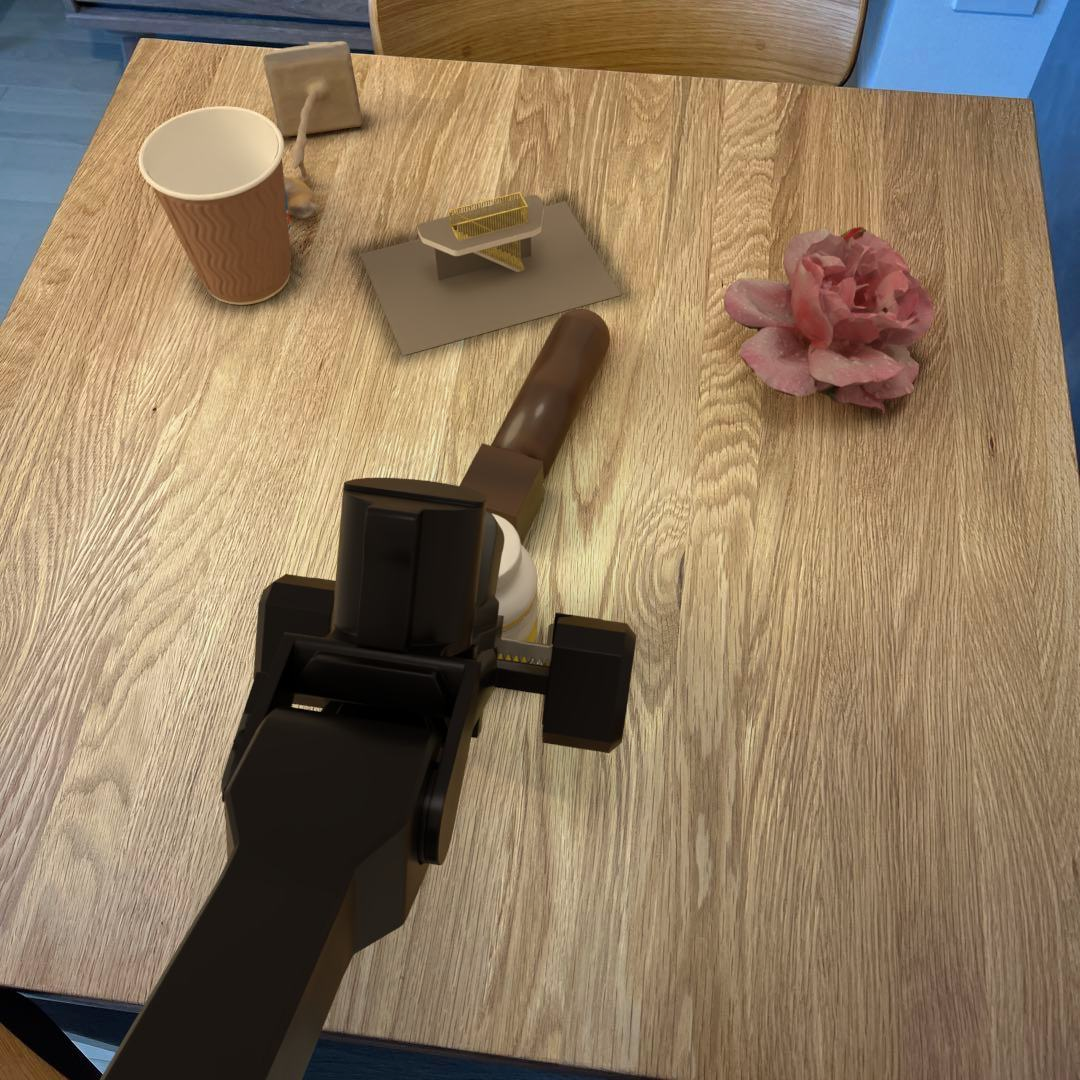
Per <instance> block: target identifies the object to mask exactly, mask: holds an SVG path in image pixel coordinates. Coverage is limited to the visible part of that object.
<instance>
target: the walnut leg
mask: <svg viewBox="0 0 1080 1080" xmlns="http://www.w3.org/2000/svg"><path fill="white" fill-rule="evenodd" d="M610 344H611V333H610V329H609V327H608V324H607V322H606V321H605V319H603V317H602V316H601V315H600V314H598V313H597V312H595V311H593V310H591V309H587V308H573V309H570V310H568V311H566V312H565V313H563V314H562V315H561V316H560V317H559V318H558V319H557V320H556V322H555V323H554V324H553V326H552V328H551V330H550V332H549V334H548V336H547V338H546V340H545V341H544V344H543V345H542V348H541V349H540V351H539V353H538V355H537V357H536V359H535V361H534V362H533V364H532V366H531V368H530V370H529V371H528V374H527V376H526V377H525V380H524V381H523V384H522V385H521V387H520V389H519V391H518V393H517V395H516V396H515V399H514V400H513V402H512V404H511V406H510V408H509V410H508V411H507V413H506V415H505V417H504V419H503V421H502V423H501V425H500V427H499V429H498V431H497V432H496V435H495V436H494V438H493V440H492V442H491V444H487V443H483V442H482V443H481V444H480V446H479V447H478V450H477V452H476V453H475V455H474V457H473V459H472V461H471V463H470V465H469V466H468V468H467V470H466V472H465V474H464V476H463V478H462V479H461V482H460V484H459V485H458V486H461V487H465V488H469V489H472V490H475V491H478V492H480V493H483V494H484V495H486V496H487V507H486V510H487V511H489V512H490V513H491V514H495V515H498V516H500V517H502V518H504V519H505V520H507V521H508V522H509V523H510V524H511V525H512V526H513V527H514V528H515V530H516V531H517V533H518V535H519V538H520V542H521V545H522V546H523V544H524V543H525V539H526V538H527V535H528V534H529V531H530V530H531V527H532V525H533V523H534V521H535V520H536V517H537V515H538V514H539V511H540V509H541V506H542V504H543V502H544V484H545V482H546V480H547V477H548V475H549V473H550V472H551V470H552V467H553V465H554V463H555V461H556V460H557V457H558V455H559V453H560V451H561V449H562V446H563V444H564V443H565V441H566V439H567V437H568V434H569V432H570V430H571V428H572V426H573V424H574V422H575V420H576V418H577V416H578V413H579V411H580V409H581V408H582V405H583V403H584V401H585V400H586V397H587V395H588V393H589V391H590V389H591V387H592V384H593V382H594V380H595V379H596V376H597V374H598V372H599V370H600V368H601V366H602V364H603V363H604V360H605V359H606V358H605V357H606V355H607V354H608V352H609V349H610V346H611V345H610Z"/></svg>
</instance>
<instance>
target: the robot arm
mask: <svg viewBox="0 0 1080 1080" xmlns="http://www.w3.org/2000/svg"><path fill="white" fill-rule="evenodd" d="M486 507H487V496H486V495H484V494H483V493H480V492H478V491H475V490H472V489H469V488H465V487H461V486H459V485H455V484H450V483H445V482H439V481H433V480H425V479H424V480H423V479H415V478H414V479H413V478H401V477H362V478H354V479H349V480H346V481H344V482H343V488H342V497H341V511H340V521H339V532H338V533H339V534H338V546H337V559H336V571H335V580H333V579H327V578H320V577H309V576H301V575H296V574H288V573H285V574H284V575H282V576H280V577H279V578H277V579H275V580H273V581H272V582H271V583H270V584H269V585H268V586H266V587H265V588H264V589H263V590H262V593H261V595H260V598H259V601H258V603H257V605H258V606H257V618H256V632H255V633H256V634H255V636H256V637H255V646H254V647H255V648H254V659H253V661H254V663H253V677H252V679H253V682H252V684H251V687H250V690H249V694H248V696H247V699H246V703H245V706H244V710H243V712H242V715H241V718H240V721H239V724H238V728H237V731H236V734H235V736H234V739H233V743H232V746H231V750H230V752H229V755H228V757H227V760H226V763H225V768H224V770H223V772H222V773H223V774H222V777H221V783H220V792H221V802H222V803H224V806H223V807H224V819H225V838H226V863H225V865H224V867H223V869H222V871H221V873H220V875H219V877H218V879H217V881H216V883H215V884H214V886H213V888H212V889H211V891H210V893H209V895H208V896H207V898H206V899H205V901H204V903H203V905H202V906H201V908H200V910H198V912H197V915H196V917H195V918H194V919H193V921H192V923H191V924H190V926H189V928H188V930H187V932H186V933H185V935H184V936H183V938H182V940H181V941H180V943H179V945H178V947H177V948H176V950H175V951H174V954H173V955H172V956H171V958H170V960H169V962H168V964H167V965H166V967H165V969H164V971H163V972H162V974H161V976H160V977H159V978H158V980H157V982H156V984H155V986H154V987H153V989H152V990H151V993H150V994H149V996H148V997H147V999H146V1001H145V1002H144V1004H143V1006H142V1007H141V1009H140V1010H139V1013H138V1015H136V1018H135V1019H134V1021H133V1023H132V1024H131V1026H130V1028H129V1030H128V1031H127V1032H126V1034H125V1036H124V1038H123V1040H122V1041H121V1043H120V1045H119V1046H118V1048H117V1049H116V1051H115V1053H114V1055H113V1057H112V1058H111V1059H110V1062H109V1064H108V1065H107V1067H106V1068H105V1070H104V1072H103V1073H102V1075H101V1076H100V1079H99V1080H303V1079H304V1076H305V1073H306V1071H307V1068H308V1066H309V1064H310V1061H311V1058H312V1055H313V1053H314V1051H315V1048H316V1046H317V1043H318V1041H319V1038H320V1036H321V1033H322V1030H323V1028H324V1026H325V1024H326V1021H327V1019H328V1016H329V1014H330V1011H331V1008H332V1006H333V1003H334V1001H335V998H336V996H337V993H338V991H339V988H340V986H341V984H342V981H343V979H344V976H345V975H346V972H347V970H348V968H349V966H350V964H351V963H352V959H353V957H354V956H355V955H356V954H357V953H360V952H361V951H362V950H364V949H366V948H368V947H369V946H371V945H373V944H374V943H376V942H378V941H379V940H381V939H382V938H384V937H386V936H388V935H389V934H391V933H393V932H394V931H397V930H398V929H400V928H401V927H402V926H403V925H405V923H406V921H407V919H408V918H409V915H410V913H411V910H412V907H413V905H414V904H415V900H416V899H417V896H418V893H419V891H420V889H421V886H422V884H423V882H424V880H425V877H426V875H427V872H428V869H429V866H430V865H434V866H440V867H441V866H443V865H444V862H445V861H446V859H447V857H448V853H449V849H450V847H451V842H452V839H453V834H454V829H455V825H456V819H457V814H458V809H459V805H460V798H461V794H462V788H463V783H464V777H465V772H466V767H467V762H468V757H469V751H470V746H471V743H472V738H473V739H478V738H479V736H480V734H481V732H482V725H483V718H484V717H483V716H484V709H485V707H486V706H487V704H488V701H489V700H490V698H491V696H492V694H493V692H494V689H495V688H496V689H503V690H509V691H516V692H523V693H529V694H535V695H542V712H541V713H542V715H541V716H542V717H541V726H542V727H541V728H542V729H541V743H542V744H548V745H554V746H560V747H561V746H562V747H566V748H571V749H579V750H584V751H592V752H598V753H603V754H610V753H611V752H613V751H614V750H616V748H617V747H619V746H620V745H622V744H623V739H624V732H625V726H626V719H627V711H628V703H629V696H630V690H631V689H630V688H631V681H632V673H633V667H634V659H635V652H636V651H635V650H636V645H637V638H638V635H637V634H636V633H635V631H634V630H633V628H632V627H631V626H630V625H629V624H628V623H627V622H620V621H613V620H607V619H602V618H596V617H589V616H583V615H575V614H569V613H562V612H555V614H554V619H553V622H552V623H550V624H548V627H547V635H546V636H547V637H546V643H540V642H537V643H535V642H528V641H521V640H514V639H508V638H502V629H503V620H504V616H502V615H498V611H499V601H498V600H497V599H496V597H495V594H496V588H497V582H498V576H499V569H500V563H501V557H502V552H503V548H504V533H503V531H502V529H501V527H500V525H499V524H498V522H497V521H496V519H495V517H494V516H493V515H492V514H491V513H490V512H489V511H487V510H486ZM500 653H501V654H502V657H503V659H499V658H498V656H499V655H500ZM507 655H510V659H511V660H506V657H507ZM515 656H518V661H513V660H514V658H515ZM523 657H525V658H526V662H527V663H526V662H521V661H522V659H523ZM531 658H533V659H532V661H533V663H532V662H531V663H529V662H530V660H531ZM540 660H541V661H540ZM539 661H540V662H541V664H538V663H539ZM293 705H296V706H297V705H298V706H304V707H309V708H310V707H311V708H317V709H321V710H314V709H308V708H307V709H306V708H301V707H294V706H293Z"/></svg>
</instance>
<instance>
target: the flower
mask: <svg viewBox="0 0 1080 1080" xmlns="http://www.w3.org/2000/svg"><path fill="white" fill-rule="evenodd" d="M782 265H783V268H784V272H785V275H786V279H787V282H785V281H779V280H778V281H777V280H772V279H771V280H770V279H761V278H748V277H746V278H739V279H737V280H735V281H733V282H731V284H729V285H728V287H727V289H726V291H725V294H724V295H723V305H724V311H725V312H726V314H727V315H728V316H729V317H730V318H731V319H732V320H733V321H734V322H736V323H738V324H739V325H741V326H742V327H744V328H748V329H749V330H755V331H756V332H757V333H756V334H754V335H753V336H751V337H750V338H748V339H747V340H746V341H744V342H743V343H742V344H741V345H740V347H739V348H738V350H739V353H738V355H739V357H740V358H741V359H742V361H743V363H744V364H745V366H747V367H748V368H749V370H750V371H751V372H752V373H753V374H754V375H755V376H756V377H757V378H758V379H759V380H760V381H762V382H763V383H764V384H766V385H767V386H768V387H770V388H771V389H773V390H774V391H775V392H777V393H780V394H784V395H786V396H790V397H797V398H801V397H804V396H810V395H812V394H814V393H818V394H821V395H823V396H826V397H828V398H830V400H832V402H835V403H837V404H841V405H847V406H853V407H857V408H861V409H862V408H863V409H867V410H869V409H874V410H876V411H878V412H879V413H880V414H881V415H884V414H885V412H886V410H885V405H884V401H885V400H891V399H898V398H902V397H904V396H908V395H911V394H912V393H913V392H914V391H915V390H916V388H915V386H914V384H913V383H914V381H915V380H916V378H917V377H918V375H919V371H920V364H919V362H917V361H916V360H915V359H914V358H912V356H911V352H910V348H911V347H912V345H913V343H914V342H916V341H919V340H920V339H921V338H922V337H924V336H925V335H926V334H927V332H928V331H929V329H930V327H931V326H932V323H933V320H934V318H935V314H936V313H937V311H936V310H935V309H934V305H933V303H932V301H931V298H930V294H929V292H927V291H926V290H925V288H923V286H922V284H921V281H920V280H919V279H918V278H916V277H914V276H913V275H911V270H910V266H909V265H908V264H907V262H906V260H905V258H904V257H903V256H902V253H899V252H897V251H896V250H894V248H893V246H892V245H891V243H890V242H888V241H887V240H886V239H885V238H882V237H880V236H878V235H876V234H874V233H872V232H871V231H870V230H867V229H865V228H864V227H863V226H857V227H856V226H855V227H852V228H849V229H848V230H847V231H845V232H844V233H842V234H841V235H837V234H834V233H833V232H832V231H830V229H828V228H826V227H825V228H821V229H816V230H810V231H807V232H804V233H799V234H797V235H796V236H794V237H793V238H791V239H789V242H788V243H787V245H786V248H785V252H784V256H783V260H782Z"/></svg>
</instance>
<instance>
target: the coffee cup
mask: <svg viewBox="0 0 1080 1080" xmlns="http://www.w3.org/2000/svg"><path fill="white" fill-rule="evenodd" d="M284 151H285V141H284V136H282V134H281V132H280V130H279V127H278V125H276V124H275V123H274V122H273V121H272V120H271V119H269V118H268V117H267V116H265V115H263V114H262V113H260V112H257V111H255V110H252V109H248V108H244V107H240V106H239V107H238V106H229V105H217V106H216V105H215V106H206V107H201V108H196V109H192V110H188V111H186V112H185V111H184V112H183V113H180V114H177V115H175V116H173V117H171V118H169V119H167V120H166V121H164V122H163V123H161V124H159V125H158V126H157V127H155V129H154V130H152V131H151V132H150V134H148V135H147V137H146V138H145V140H144V142H143V143H142V145H141V147H140V151H139V153H138V168H139V171H140V173H141V175H142V177H143V178H144V180H145V181H146V182H147V183H148V184H149V185H150V186H151V187H152V190H153V191H154V193H155V195H156V198H157V199H158V201H159V203H160V205H161V207H162V209H163V211H164V212H165V215H166V217H167V219H168V221H169V223H170V225H171V226H172V229H173V230H174V232H175V234H176V236H177V238H178V240H179V242H180V244H181V247H182V248H183V250H184V252H185V253H186V256H187V257H188V260H189V262H190V263H191V266H192V267H193V269H194V272H195V273H196V275H197V277H198V279H199V281H200V282H201V284H202V285H204V288H205V289H206V291H207V292H208V293H209V294H210V295H211V296H212V297H213V298H215V299H217V301H220V302H222V303H225V304H230V305H239V306H243V305H244V306H247V305H253V304H257V303H258V304H259V303H261V302H263V301H267V300H268V299H270V298H272V297H274V296H275V295H277V294H278V293H279V292H280V291H282V289H284V287H286V285H287V283H288V281H289V280H290V276H291V264H292V250H291V240H290V232H289V231H290V229H291V220H290V215H289V212H288V204H287V197H286V189H285V183H284V176H285V175H284V166H283V165H284V164H283V156H284Z"/></svg>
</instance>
